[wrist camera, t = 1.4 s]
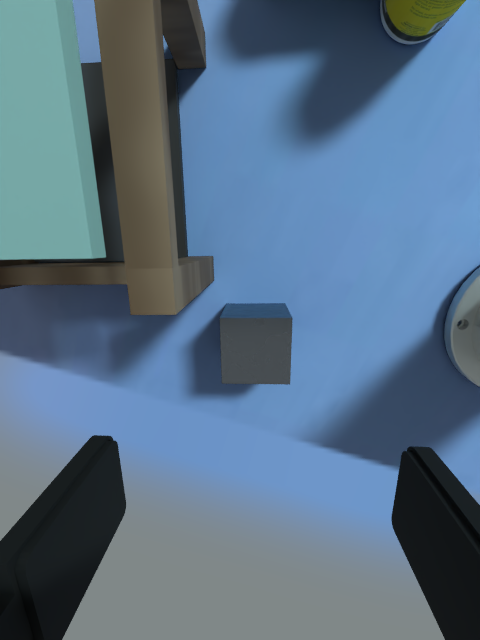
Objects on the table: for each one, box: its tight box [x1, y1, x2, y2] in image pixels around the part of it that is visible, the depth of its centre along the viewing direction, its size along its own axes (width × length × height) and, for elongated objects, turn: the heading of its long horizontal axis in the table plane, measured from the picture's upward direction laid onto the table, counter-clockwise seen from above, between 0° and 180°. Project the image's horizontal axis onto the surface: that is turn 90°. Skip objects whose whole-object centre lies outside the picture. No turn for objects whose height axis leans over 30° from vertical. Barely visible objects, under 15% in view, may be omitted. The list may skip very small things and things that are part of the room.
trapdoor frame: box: [0, 0, 214, 315], centre depth 16 cm, size 17×17×12 cm
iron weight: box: [220, 303, 292, 384], centre depth 23 cm, size 5×5×5 cm
